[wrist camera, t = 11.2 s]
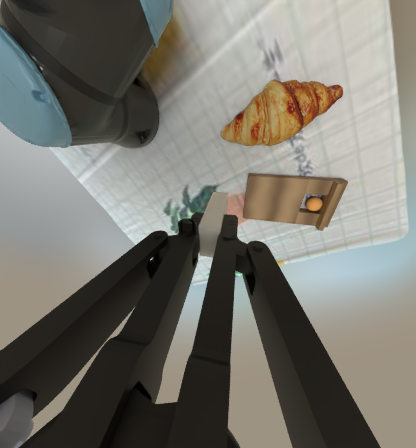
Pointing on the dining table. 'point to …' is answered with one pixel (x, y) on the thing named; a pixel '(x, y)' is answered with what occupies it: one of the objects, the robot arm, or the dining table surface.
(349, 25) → the dining table surface
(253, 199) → the wooden tray with slot
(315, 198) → the ball
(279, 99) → the croissant
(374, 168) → the dining table surface
